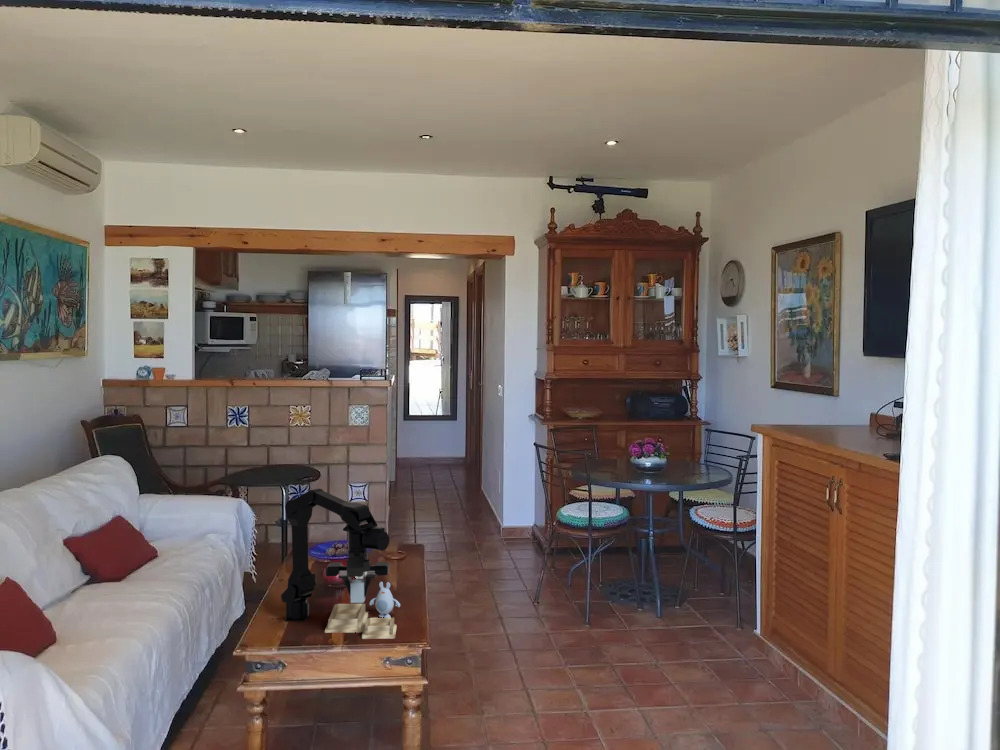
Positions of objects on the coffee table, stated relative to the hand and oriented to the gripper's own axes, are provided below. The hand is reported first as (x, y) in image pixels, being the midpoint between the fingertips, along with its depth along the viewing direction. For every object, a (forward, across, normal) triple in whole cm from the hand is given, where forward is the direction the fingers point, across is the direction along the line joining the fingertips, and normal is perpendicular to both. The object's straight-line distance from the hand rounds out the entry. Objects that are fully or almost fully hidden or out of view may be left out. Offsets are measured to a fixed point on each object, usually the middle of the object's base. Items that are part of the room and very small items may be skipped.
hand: (358, 596), depth 234 cm
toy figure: (+12, +6, +16) cm, 21 cm away
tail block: (+1, 0, 0) cm, 1 cm away
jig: (+12, -5, +10) cm, 17 cm away
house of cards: (+12, -5, +58) cm, 60 cm away
